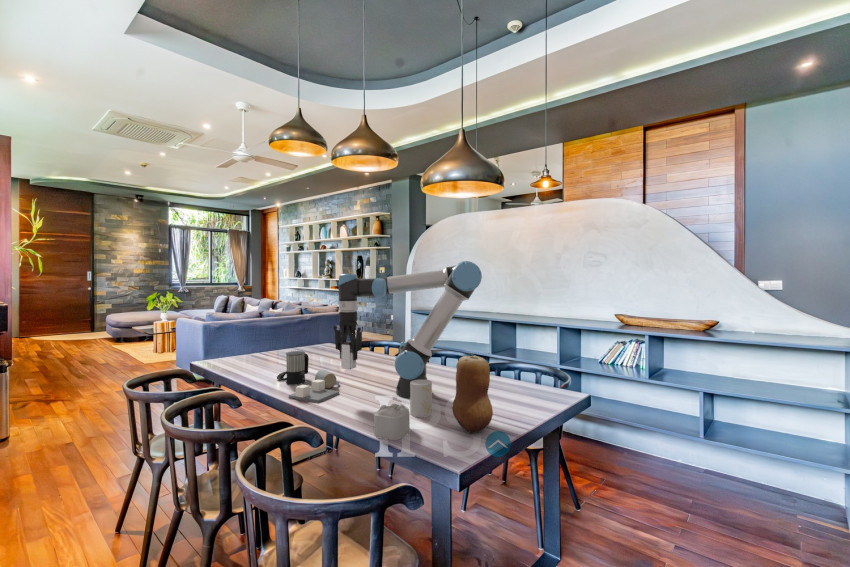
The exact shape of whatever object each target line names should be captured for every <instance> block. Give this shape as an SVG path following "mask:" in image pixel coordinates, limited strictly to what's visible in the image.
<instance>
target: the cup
mask: <svg viewBox="0 0 850 567" xmlns="http://www.w3.org/2000/svg"><path fill="white" fill-rule="evenodd" d="M432 388H433V382H432V381H431V380H429V379H427V380H413V381H411V382H410V398H409V401H410V403H409V404H410V407H409V408H410V409H409V412H410V415H411V416H412V417H415V418H427V417H430V416H432V414H433V409H432V408H433V406H432V404H433V399H432V398H433V394H432V392H433V391H432V390H433V389H432Z"/></svg>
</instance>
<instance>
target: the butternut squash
mask: <svg viewBox="0 0 850 567" xmlns="http://www.w3.org/2000/svg"><path fill="white" fill-rule="evenodd" d="M490 370H491V369H490V364H489V362H488V361H487V360H486V359H485V358H484V357H481V356H477V355H473V356H472V355H471V356H470V355H464V356H461V357H460V358H459V359H458V362H457V363H456V373H455V396H454V400H453V402H452V413H453V416H454V418H455V419H456V421H457V423H458V424H459V426H460V427H461V428H462V429H463V430H464V431H465V432H467V433H469V434H474V433H479V432H482V431H483V430H484V429H486V428H487V427H488V426H489V425H490V423H491V421H492V419H493V416H494V414H493V411H494V410H493V405H492V403H491V400H490V397H489V394H488V392H489V388H490V380H491V379H490V378H491V377H490V376H491V375H490V374H491V371H490Z"/></svg>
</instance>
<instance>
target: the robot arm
mask: <svg viewBox="0 0 850 567" xmlns="http://www.w3.org/2000/svg"><path fill="white" fill-rule="evenodd" d="M482 279H483V276H482V270H481V269H480V267H479V266H478V265H477V264H476V263H474V262H473V261H468V260H465V261H461V262H459V263H457V264H456V265H451V266H446V267H445V268H444V269H440V270H434V271H433V270H432V271H424V272H416V273H409V274H401V275H400V274H399V275H392V276H391V275H390V276H385V277H376V278H358V275H357V274H356V273H340V274H339V277H338V310H339V312H338V321H339V324H337V325H333V330H334V341H335V342H334V343H335V344H334V345H335V350H337V351H339V359H340V362H341V364H340V365H341V366H340V367H341V368H342V344H343V342H345V341H348V339H347V338H348V337H349V341H350V342H351V347H352V352H351V368H352V369H355V368H357V360H358V353H359V352H360V351H362V350H363V347H362V346H363V343H362V342H363V340H362V339H363V331H364V326H360V325H359V324H358V297H359V298H361V297H362V298H374V297H375V298H382V297H385V296H386V295H390V294H398V293H405V292H406V293H407V292H415V291H424V290H432V289H440V288H444V290H443V292H442V294H440V297H439V298H438V300H437V301H436V303H435V305H434V306H433V307H432V309H431V311H430V312H429V314H428V315H427V317H426V319H425V320H424V322H423V323H422V325H421V326H420V328H419V329H418V331H417V332H416V334H415V336H414V337H413V338H410V339H409V338H408V339H407V341H401V342H400V343H399V353H398V355H397V356H396V357H395V360H394V368H395V371H396V373H397V374H398V376H399V378H398V382H397V385H396V388H395V394H396V395H397V396H398V395H399V397H403V398H409V399H410V382H411V381H413V380H428V377H427V363H428V362H429V361H430V359H431V357H432V356H433V353H432V349H433V348H434V347H435V344H436V343H437V341H438V340H439V338H440V337H441V336H442V334H443V332H444V331H445V329H446V328H447V326H448V324H449V323H450V321H451V320H452V319H453V317H454V315H455V314H456V313H457V311H458V309H459V308H460V306H461V304H462V303H463V302H464V301H468V300H469V299H470V297H471V296H472V295H473V293H474V291H475V290H476V289H477V288H478V287H479V286H480V284H481V283H482ZM352 369H351V370H352Z"/></svg>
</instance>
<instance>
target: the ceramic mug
mask: <svg viewBox="0 0 850 567" xmlns="http://www.w3.org/2000/svg"><path fill="white" fill-rule="evenodd" d="M315 380H325V389H331V388H333V387H335V385H337V386H339V385H340V381H338V380H337V377H336V375H335V374H334V373H333V372H330V371H328V370H326V369H320V370H318V371H317V372H316V373H315V376H314V381H315Z"/></svg>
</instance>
